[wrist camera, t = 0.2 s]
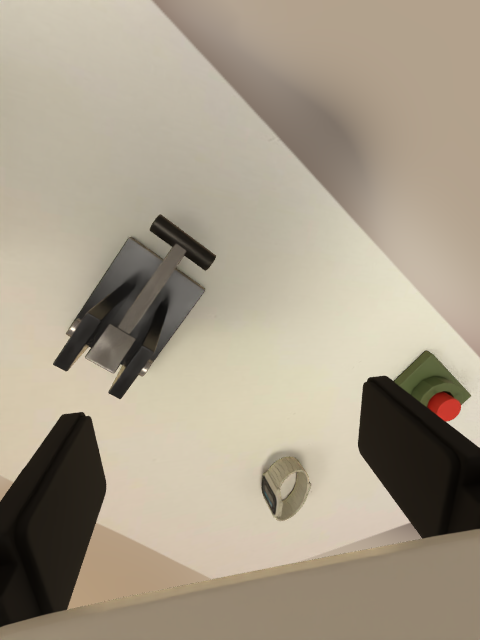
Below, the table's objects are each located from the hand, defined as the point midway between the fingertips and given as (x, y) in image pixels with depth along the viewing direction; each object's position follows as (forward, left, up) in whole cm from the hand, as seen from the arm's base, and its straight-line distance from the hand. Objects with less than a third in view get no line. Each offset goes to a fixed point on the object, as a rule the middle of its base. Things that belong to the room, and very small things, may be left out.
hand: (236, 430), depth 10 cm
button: (+16, +28, -21) cm, 39 cm away
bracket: (+1, -8, -24) cm, 25 cm away
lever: (-1, -5, -16) cm, 17 cm away
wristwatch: (+27, +8, -24) cm, 37 cm away
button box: (+16, +28, -24) cm, 41 cm away
